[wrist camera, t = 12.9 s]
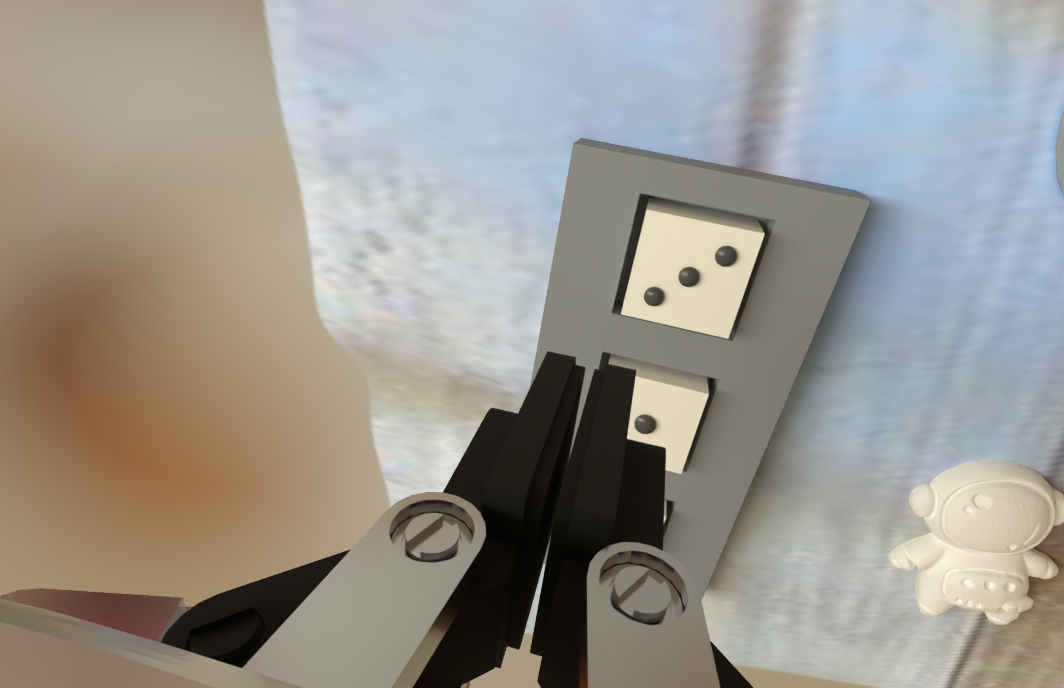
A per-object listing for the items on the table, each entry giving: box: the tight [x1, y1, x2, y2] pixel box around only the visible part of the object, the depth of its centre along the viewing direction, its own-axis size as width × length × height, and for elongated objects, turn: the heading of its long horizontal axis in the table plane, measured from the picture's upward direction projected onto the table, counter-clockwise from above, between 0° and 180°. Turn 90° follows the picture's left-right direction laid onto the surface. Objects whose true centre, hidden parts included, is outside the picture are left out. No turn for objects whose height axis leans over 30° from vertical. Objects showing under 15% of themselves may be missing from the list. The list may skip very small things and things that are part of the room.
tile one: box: [608, 354, 709, 474], centre depth 34 cm, size 6×6×3 cm
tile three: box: [621, 197, 765, 339], centre depth 30 cm, size 6×6×3 cm
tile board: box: [530, 138, 871, 600], centre depth 35 cm, size 14×28×2 cm, turn 171°
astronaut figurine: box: [889, 460, 1064, 625], centre depth 34 cm, size 9×12×3 cm
